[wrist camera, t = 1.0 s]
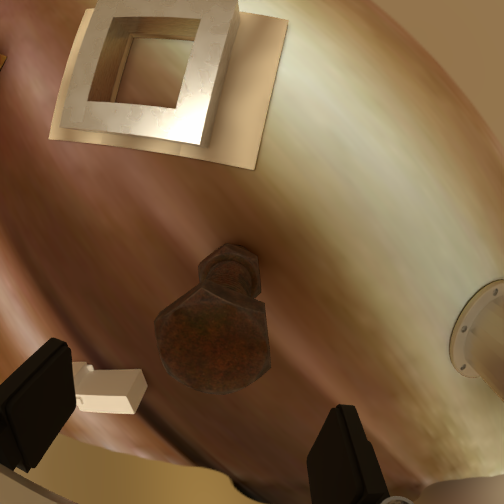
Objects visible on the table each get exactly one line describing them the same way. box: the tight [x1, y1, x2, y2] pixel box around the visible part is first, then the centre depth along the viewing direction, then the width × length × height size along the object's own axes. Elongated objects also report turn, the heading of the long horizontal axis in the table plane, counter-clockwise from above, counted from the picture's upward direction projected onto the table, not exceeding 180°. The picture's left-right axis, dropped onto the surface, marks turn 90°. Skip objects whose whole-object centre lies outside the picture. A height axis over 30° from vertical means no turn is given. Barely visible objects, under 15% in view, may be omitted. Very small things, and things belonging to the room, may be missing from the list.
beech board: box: [49, 8, 289, 170], centre depth 24 cm, size 20×14×1 cm
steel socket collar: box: [59, 0, 240, 148], centre depth 22 cm, size 12×12×4 cm
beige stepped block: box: [72, 362, 148, 414], centre depth 30 cm, size 15×11×6 cm
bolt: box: [154, 243, 271, 395], centre depth 21 cm, size 6×5×15 cm
